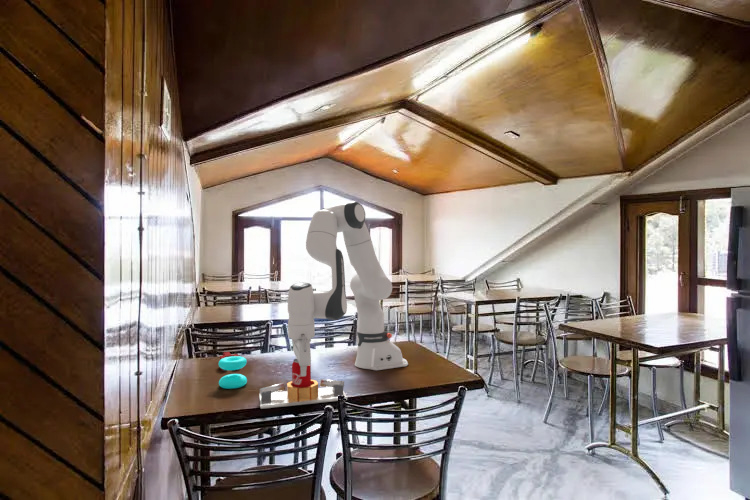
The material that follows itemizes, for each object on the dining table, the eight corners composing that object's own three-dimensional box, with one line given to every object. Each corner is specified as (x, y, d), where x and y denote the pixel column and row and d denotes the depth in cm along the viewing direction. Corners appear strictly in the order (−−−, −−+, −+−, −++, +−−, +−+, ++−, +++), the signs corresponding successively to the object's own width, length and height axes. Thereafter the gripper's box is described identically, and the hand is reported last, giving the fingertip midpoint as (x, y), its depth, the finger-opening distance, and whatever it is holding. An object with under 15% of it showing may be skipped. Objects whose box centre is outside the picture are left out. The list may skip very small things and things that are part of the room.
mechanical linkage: (240, 369, 196) (240, 357, 196) (222, 372, 193) (222, 360, 192) (234, 361, 210) (233, 350, 210) (217, 363, 207) (217, 352, 207)
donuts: (215, 362, 168) (221, 355, 178) (216, 390, 168) (221, 382, 178) (244, 361, 169) (248, 354, 179) (244, 389, 169) (248, 380, 179)
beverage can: (293, 392, 162) (292, 357, 161) (311, 391, 162) (311, 357, 162) (291, 398, 155) (290, 362, 155) (310, 398, 156) (309, 361, 156)
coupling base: (340, 388, 168) (340, 372, 168) (347, 399, 157) (347, 382, 156) (259, 396, 161) (258, 379, 161) (260, 408, 149) (259, 390, 149)
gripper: (315, 337, 149) (315, 380, 149) (307, 325, 169) (307, 364, 169) (294, 338, 147) (295, 382, 148) (289, 327, 167) (289, 365, 167)
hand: (302, 372), depth 159 cm, fingers closed on beverage can, 6 cm apart
